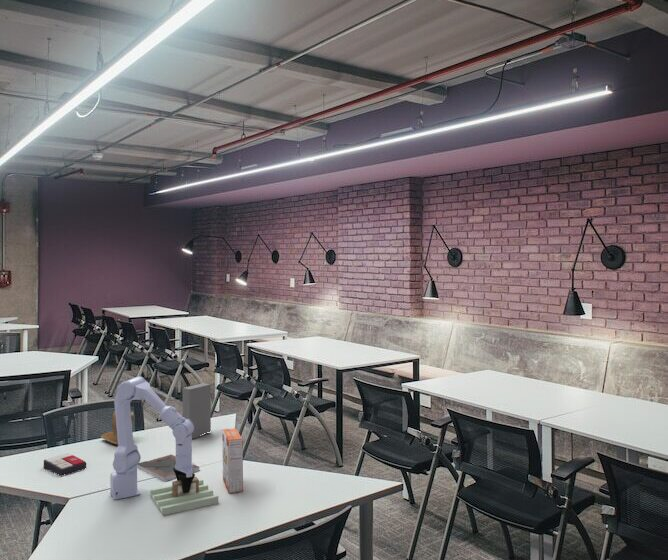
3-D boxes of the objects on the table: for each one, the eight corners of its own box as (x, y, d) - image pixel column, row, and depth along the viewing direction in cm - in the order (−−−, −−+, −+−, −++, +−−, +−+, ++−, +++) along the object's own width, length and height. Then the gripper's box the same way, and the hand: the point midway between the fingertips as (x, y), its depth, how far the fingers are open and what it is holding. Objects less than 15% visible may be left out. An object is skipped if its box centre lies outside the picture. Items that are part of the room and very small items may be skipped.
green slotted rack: (163, 515, 201) (163, 508, 201) (150, 496, 217) (150, 489, 216) (218, 503, 211) (218, 496, 211) (202, 485, 227) (202, 479, 227)
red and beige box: (61, 468, 235) (43, 458, 244) (61, 478, 235) (43, 468, 244) (86, 460, 244) (68, 451, 253) (86, 470, 244) (68, 460, 253)
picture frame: (136, 469, 245) (164, 483, 230) (136, 463, 245) (163, 477, 230) (171, 459, 257) (199, 472, 242) (171, 453, 257) (199, 466, 242)
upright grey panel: (202, 431, 296) (202, 382, 295) (211, 433, 292) (210, 384, 291) (181, 438, 285) (181, 387, 283) (189, 440, 281) (189, 389, 280)
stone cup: (138, 442, 278) (138, 411, 277) (114, 448, 269) (114, 416, 269) (123, 435, 288) (123, 405, 288) (100, 440, 280) (100, 410, 279)
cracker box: (221, 480, 232) (221, 428, 231) (236, 478, 234) (236, 427, 233) (227, 494, 219) (227, 439, 218) (243, 491, 221) (243, 438, 220)
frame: (174, 500, 210) (174, 484, 210) (172, 497, 213) (172, 481, 213) (198, 495, 215) (198, 479, 215) (196, 492, 218) (196, 476, 218)
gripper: (200, 457, 209) (200, 494, 209) (188, 446, 221) (188, 481, 222) (181, 461, 205) (181, 498, 206) (170, 449, 218) (170, 484, 218)
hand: (183, 489), depth 214 cm, fingers open, 5 cm apart
